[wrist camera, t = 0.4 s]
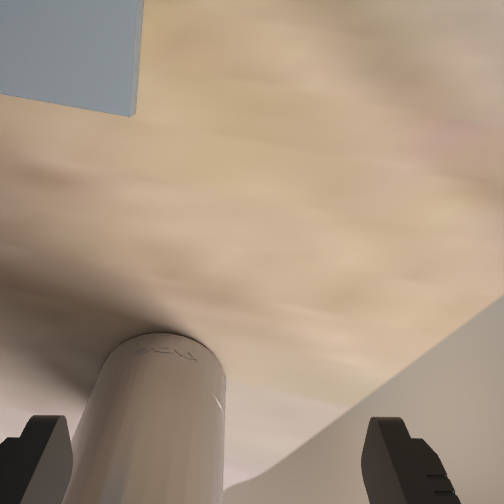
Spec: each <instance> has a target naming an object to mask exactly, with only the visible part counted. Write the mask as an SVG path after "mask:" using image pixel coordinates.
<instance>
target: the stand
mask: <svg viewBox="0 0 504 504" xmlns="http://www.w3.org/2000/svg"><path fill="white" fill-rule="evenodd" d="M143 3H144V0H0V94H4V95H9V96H15V97H20V98H26V99H32V100H37V101H43V102H48V103H54V104H60V105H65V106H71V107H76V108H82V109H88V110H93V111H99V112H104V113H110V114H116V115H121V116H127V117H131V116H132V115H134V114H135V113H136V100H137V86H138V72H139V58H140V45H141V31H142V17H143Z"/></svg>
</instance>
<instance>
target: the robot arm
mask: <svg viewBox="0 0 504 504" xmlns="http://www.w3.org/2000/svg"><path fill="white" fill-rule="evenodd" d="M225 402H226V381H225V375H224V372H223V369H222V366H221V365H220V363H219V361H218V360H217V358H216V357H215V356H214V355H213V354H212V353H211V352H210V351H209V350H208V349H207V348H205V347H204V346H202V345H201V344H199V343H198V342H196V341H194V340H191V339H189V338H186V337H184V336H179V335H175V334H169V333H153V334H145V335H141V336H138V337H135V338H132V339H129V340H128V341H126V342H124V343H122V344H121V345H119V346H118V347H117V348H116V349H115V350H114V351H112V352H111V353H110V355H109V356H108V358H107V359H106V361H105V362H104V365H103V367H102V370H101V372H100V374H99V377H98V379H97V382H96V384H95V386H94V389H93V391H92V394H91V396H90V398H89V400H88V403H87V405H86V407H85V410H84V412H83V415H82V417H81V419H80V422H79V424H78V427H77V429H76V431H75V434H74V436H73V439H72V441H71V442H70V436H69V431H68V426H67V421H66V418H65V416H60V415H34V416H32V417H31V418H30V419H29V421H28V422H27V424H26V426H25V428H24V430H23V432H22V434H21V436H20V438H15V437H7V438H6V439H5V440H4V441H3V442H2V443H1V444H0V504H223V470H224V434H225ZM361 468H362V476H363V481H364V484H365V487H366V491H367V494H368V498H369V502H370V504H461V503H460V500H459V498H458V497H457V496H456V495H455V490H454V488H453V486H452V484H451V482H450V480H449V479H448V478H447V473H446V471H445V469H444V467H443V465H442V463H441V461H440V459H439V457H438V455H437V454H436V453H435V452H434V451H433V450H432V449H431V447H430V446H429V445H428V444H427V443H426V442H425V441H424V440H423V439H416V438H411V437H410V435H409V433H408V430H407V428H406V426H405V423H404V422H403V420H402V419H401V418H400V417H372V418H371V419H370V422H369V426H368V430H367V434H366V439H365V443H364V447H363V452H362V459H361Z"/></svg>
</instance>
